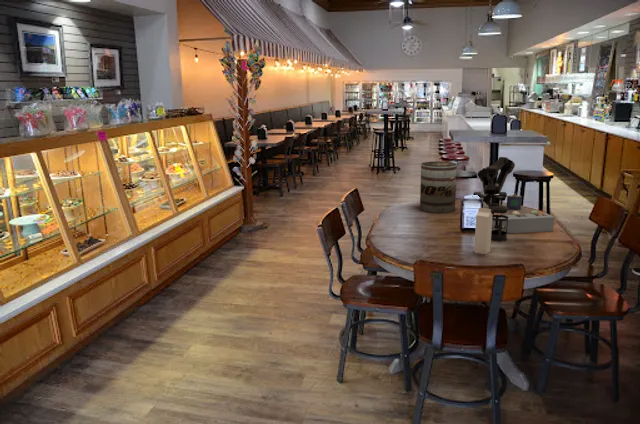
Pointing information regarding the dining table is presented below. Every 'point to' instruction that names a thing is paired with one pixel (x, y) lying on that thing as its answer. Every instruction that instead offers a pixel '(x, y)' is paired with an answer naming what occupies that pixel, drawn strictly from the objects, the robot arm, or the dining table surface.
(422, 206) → the barrel
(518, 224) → the block
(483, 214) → the milk
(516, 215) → the cream button
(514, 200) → the flask
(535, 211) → the pale green rounded cylinder
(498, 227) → the french press
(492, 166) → the robot arm
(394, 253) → the dining table surface
